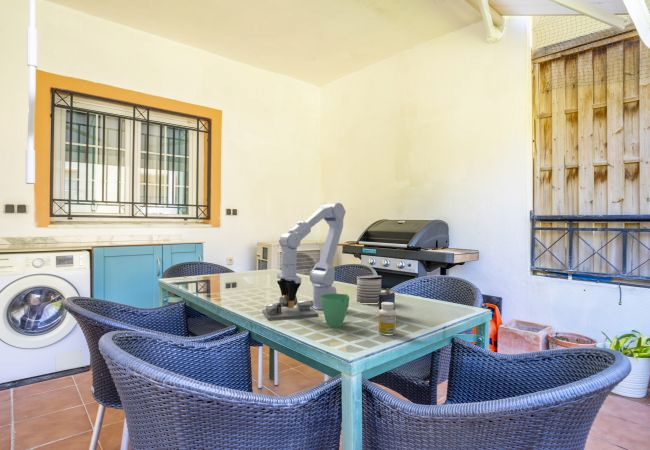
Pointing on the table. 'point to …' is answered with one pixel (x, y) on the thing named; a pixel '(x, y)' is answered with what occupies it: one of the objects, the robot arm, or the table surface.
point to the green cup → (335, 308)
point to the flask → (387, 298)
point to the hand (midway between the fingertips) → (288, 299)
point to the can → (368, 289)
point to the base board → (290, 314)
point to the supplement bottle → (387, 318)
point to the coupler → (287, 301)
